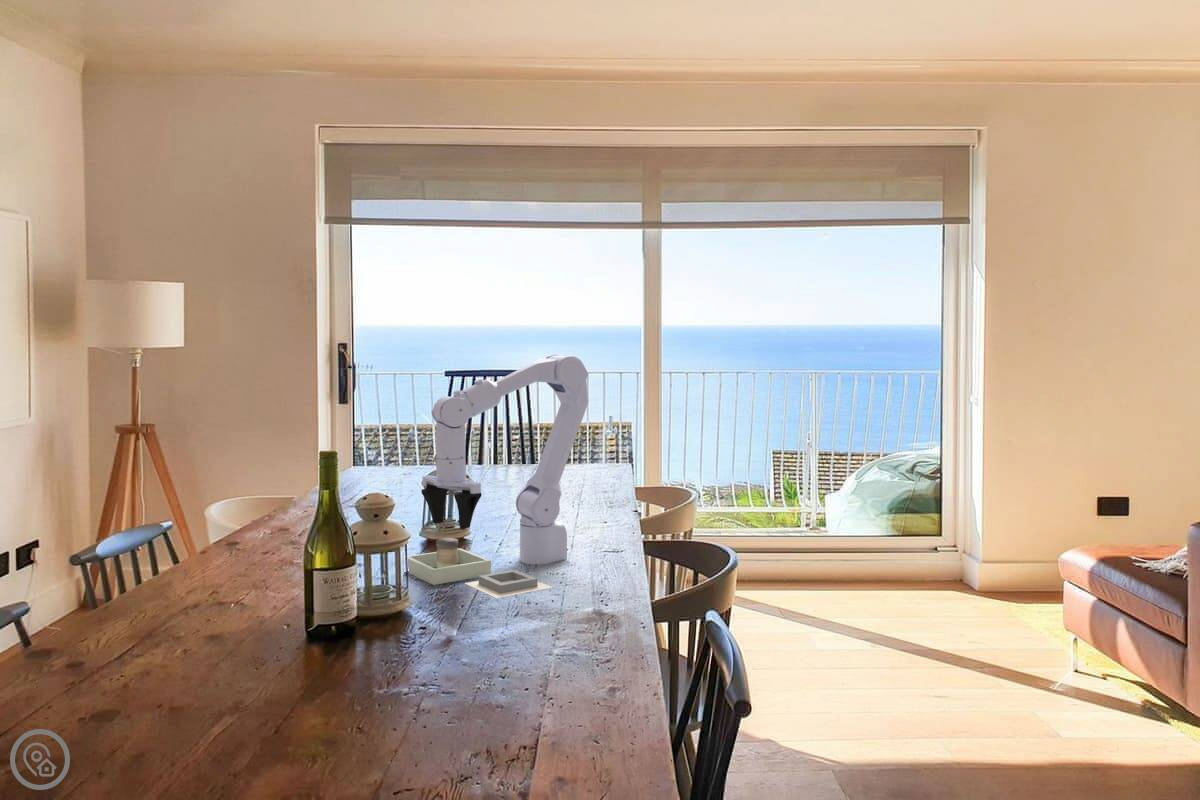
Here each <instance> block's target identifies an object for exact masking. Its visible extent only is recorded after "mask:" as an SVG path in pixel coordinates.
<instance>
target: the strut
mask: <svg viewBox="0 0 1200 800" xmlns="http://www.w3.org/2000/svg"><path fill="white" fill-rule="evenodd" d="M435 543H436V545H435V546H436V552H437V567H436V568H442V567H448V566H454V565H458V563H457V562H458V549H459V548H458V547H459V539H457V538H454V537H443V538H438V539H436V541H435Z"/></svg>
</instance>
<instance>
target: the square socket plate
mask: <svg viewBox="0 0 1200 800" xmlns="http://www.w3.org/2000/svg"><path fill="white" fill-rule="evenodd" d="M463 584H464V585H467V586H469V587H471V588H473V589H475V590H478V591H480V592H482V593H484V594H486V595H488V596H491V597H493V598H495V599H500V598H506V597H511V596H517V595H522V594H526V593H532V592H536V591H542V590H543V591H544V590H547V589H552V588H553V587H552V586H551V585H547V584H546V583H542V582H540V581H538V578H537V577H535V576H532V575H529V574H527V573H524V572H521V571H520V570H517V569H512V570H504V571H500V572H493V573H492V572H491V574H487V575H481V576H479V577H478V579H477V580H474V581H473V580H472V581H468V582H464V583H463Z"/></svg>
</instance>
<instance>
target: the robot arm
mask: <svg viewBox="0 0 1200 800" xmlns="http://www.w3.org/2000/svg"><path fill="white" fill-rule="evenodd" d="M588 376H589V372H588V371H587V369H586V367H585V365H584V363H583V361H582V360H581V359H580V358H578V357H577V356H574V355H568V356H566V355H558V354H551V355H548V356H546V357H544V358H539V359H536V360H535V361H532V362H531V363H529V364H526V365H525V366H523V367H521V368H519V369H517V370H515V371H512V372H511V373H509V374H507V375H506V376H503V377H501V378H500V379H497V380H496V381H492V380H490V379H487V378H486V379H484V380H483V379H482V378H478V379H476V380H474V384H473V385H471V386H468V387H466V388H464V389H461V390H458V389H456V390H454V391H453V393H452V394H453V396H448V395H447V396H443V397H440V398H439V399H437V400H436V402H435V403H434V405H433V409H432V410H431V416H432V418H433V420H434V421H435V423H436V427H435V428H436V429H435V430H436V431H435V432H436V433H435V434H436V435H435V458H436V459H435V467H436V468H435V469H436V471H435V472H436V473H435V474H436V475H425V476H422V486H423V487H425V488H423V489H421V495H423V497H424V500H425V501H426V504H427V507H428V508H429V512H430V516H431V520H432V523H433V524H435V525H437V524H441V523H444V520H445V519H444V517H445V504H446V497H447V494H448V491H449V490H452V491H460V492H458V493H454V494H453V497H454V499H455V502H456V506H457V510H458V524H459V528H460V529H461V530H465V529H469V528H471V524H472V520H473V516H474V512H475V509H476V507H477V504H478V503H479V502H480V499H481V497H482V483H481V482H480V481H479V482H477V481H474V480H471V479H468V478H466V475H467V474H466V473H467V472H466V471H467V470H466V465H467V464H466V463H467V461H466V459H467V458H466V424H467V423H468V421H469V419H472V418H474V417H476V416H478V415H480V414H482V413H484V412H487V411H488V410H491V409H493V408H494V407H497V406H498V405H499V404H500V402H501V400H502V397H503V396H506V395H508V394H511V393H514V392H515V391H518V390H520V389H522V388H526V387H527V386H530V385H532V384H534V383H537V382H538V383H546V384H547V385H548V386H549V387H550V388H551V389H552V390H553V391H554V392H555V394H556V396H557V399H558V400H559V402H560V405H559V407H558V410H557V414H556V416H555V419H554V420H553V424H552V427H551V429H550V432H549V435H548V438H547V441H546V443H545V446H544V449H543V451H542V454H541V456H540V459H539V462H538V465H537V468H536V470H535V473H534V474H533V475H532V476H531V477H530V478H529V479H528V480H527V481H526V484H525V486H524V488H523V489H522V490H521V491H520V492H519V493H518V495H517V496H516V499H515V508H516V511H517V512H518V514H519V515H520V520H519V561H520V562H521V563H523V564H527V565H547V564H551V563H555V562H558V561H565V560H566V561H567V560H568V533H567V529H566V527H565V524H564V523H563V522H562V521H560V520H557V519H558V516H559V515H560V511H561V510H560V507H561V506H560V500H561V496H562V489H561V485H560V482H561V480H562V476H563V474H564V471H565V468H566V465H567V462H568V460H569V456H570V454H571V451H572V449H573V446H574V444H575V441H576V438H577V435H578V432H579V430H580V427H581V424H582V421H583V419H584V416H585V413H586V410H587V407H588V405H589V396H588V383H587V379H588Z"/></svg>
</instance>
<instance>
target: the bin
mask: <svg viewBox="0 0 1200 800" xmlns="http://www.w3.org/2000/svg"><path fill="white" fill-rule="evenodd" d="M407 557H408V567H409V573H408V574H410V575H412V576H415V577H416V578H418V579H419V580H422V581H424V582H426V583H429V584H430V585H432V586H436V585H441V584H447V583H452V582H458V581H463V580H465V581H466V580H469V579H476V578H479V576H481V575H487V574H492V560H490V559H488V558H486V557H483V556H480V555H478V554H476V553H473V552H471V551H469V550H465V549H464V548H458V562H457V565H454V566H448V567H442V568H437V551H433V552H428V553H420V554H414V555H413V554H412V555H407Z"/></svg>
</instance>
